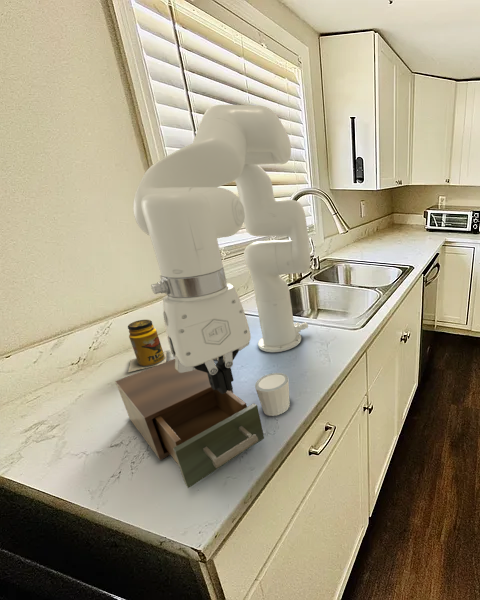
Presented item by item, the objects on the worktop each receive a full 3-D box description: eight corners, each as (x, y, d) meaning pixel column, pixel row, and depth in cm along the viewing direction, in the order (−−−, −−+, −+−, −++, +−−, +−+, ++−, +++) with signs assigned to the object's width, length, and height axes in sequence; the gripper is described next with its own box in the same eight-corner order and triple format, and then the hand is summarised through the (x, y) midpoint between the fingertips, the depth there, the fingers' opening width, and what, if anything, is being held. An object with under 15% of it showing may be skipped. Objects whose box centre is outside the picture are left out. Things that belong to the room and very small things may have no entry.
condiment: (166, 363, 91) (154, 324, 86) (128, 373, 86) (113, 332, 82) (166, 352, 96) (155, 315, 92) (130, 360, 92) (117, 322, 88)
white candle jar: (262, 422, 69) (256, 394, 66) (258, 403, 74) (253, 377, 72) (295, 411, 72) (291, 385, 69) (289, 394, 77) (285, 369, 75)
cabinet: (238, 416, 71) (229, 377, 67) (160, 460, 60) (144, 418, 56) (202, 385, 81) (193, 351, 77) (130, 419, 70) (115, 381, 66)
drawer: (279, 451, 60) (273, 417, 57) (202, 506, 50) (189, 469, 47) (223, 404, 73) (216, 374, 70) (152, 441, 63) (140, 408, 60)
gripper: (143, 304, 39) (182, 425, 46) (259, 274, 50) (277, 375, 57) (124, 291, 43) (162, 403, 50) (235, 266, 54) (254, 361, 61)
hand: (223, 388), depth 53 cm, fingers closed
